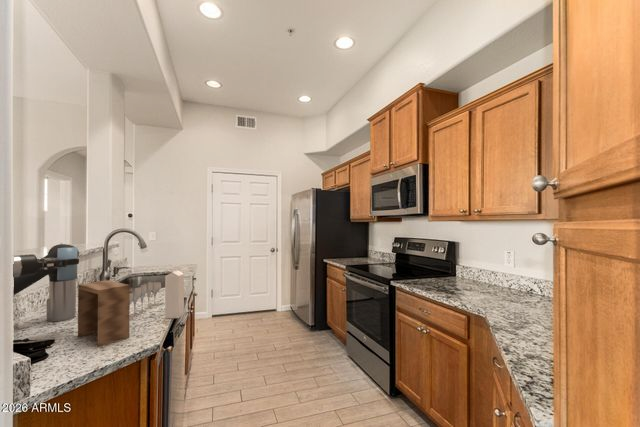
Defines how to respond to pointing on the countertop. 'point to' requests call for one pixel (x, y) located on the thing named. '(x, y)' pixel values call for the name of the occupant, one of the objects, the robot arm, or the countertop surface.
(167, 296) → the milk
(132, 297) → the goblet set
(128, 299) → the open wooden box
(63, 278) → the grey-blue cylinder
